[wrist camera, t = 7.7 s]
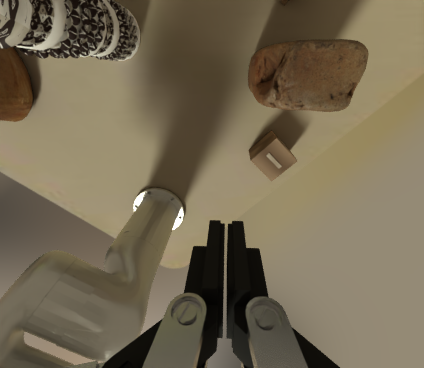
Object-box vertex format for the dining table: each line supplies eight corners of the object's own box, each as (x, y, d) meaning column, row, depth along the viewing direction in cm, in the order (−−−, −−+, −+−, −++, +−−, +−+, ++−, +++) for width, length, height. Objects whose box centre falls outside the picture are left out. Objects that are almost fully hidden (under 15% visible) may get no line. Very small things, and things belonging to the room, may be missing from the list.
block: (313, 52, 37) (386, 35, 20) (302, 99, 41) (356, 120, 23) (249, 49, 38) (264, 29, 20) (244, 95, 41) (253, 113, 24)
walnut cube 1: (267, 169, 48) (272, 182, 42) (248, 150, 46) (250, 160, 41) (290, 150, 46) (299, 161, 40) (271, 129, 44) (277, 137, 38)
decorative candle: (153, 29, 38) (40, -30, 16) (126, 74, 41) (3, 78, 19) (106, -15, 35) (-102, -159, 13) (82, 37, 39) (-113, -8, 17)
